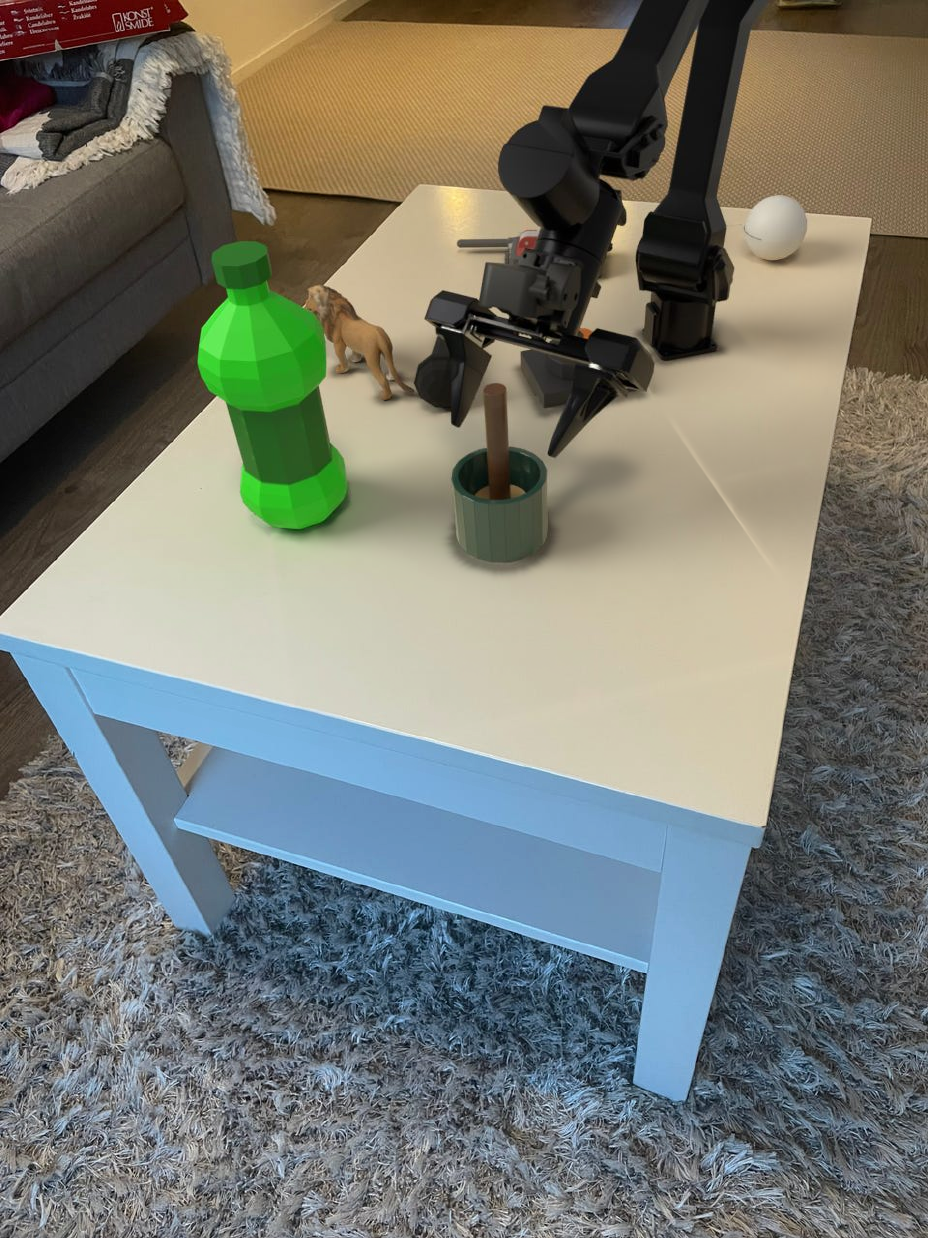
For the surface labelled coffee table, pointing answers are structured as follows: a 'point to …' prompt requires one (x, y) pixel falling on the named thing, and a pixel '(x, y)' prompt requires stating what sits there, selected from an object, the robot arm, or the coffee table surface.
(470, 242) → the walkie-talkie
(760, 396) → the coffee table surface
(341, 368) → the lion figurine
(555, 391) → the button unit
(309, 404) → the plastic bottle
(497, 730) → the coffee table surface
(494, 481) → the brown wooden dowel
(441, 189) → the coffee table surface
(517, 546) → the green pen cup
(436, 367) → the microphone
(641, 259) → the robot arm
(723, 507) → the coffee table surface
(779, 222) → the white ball
